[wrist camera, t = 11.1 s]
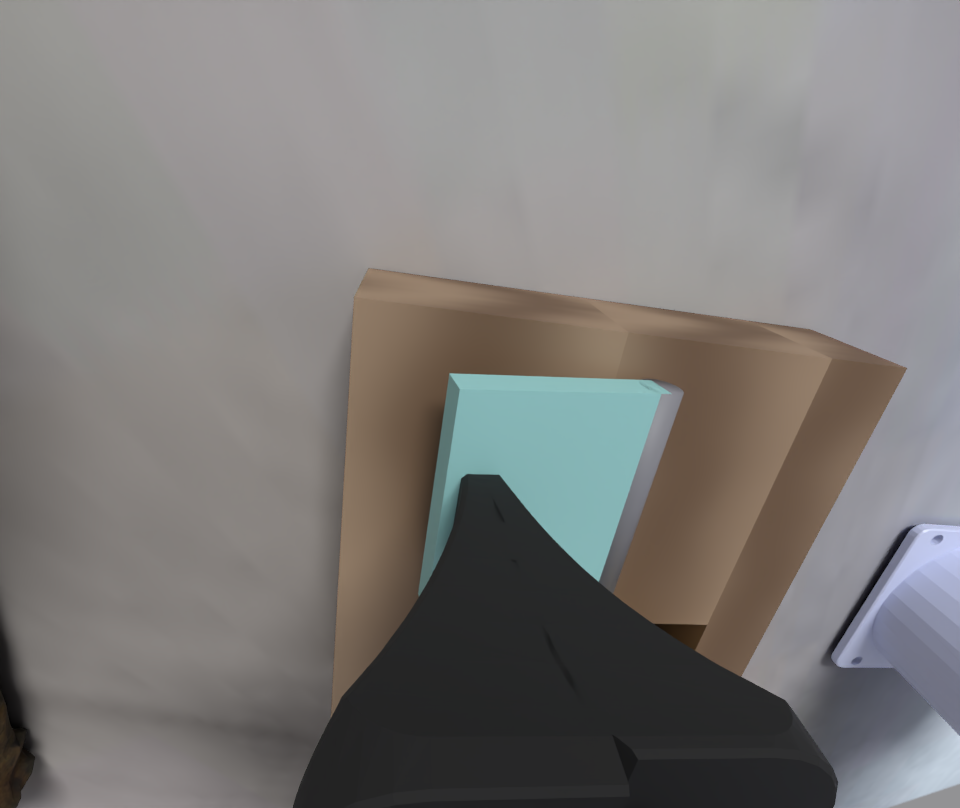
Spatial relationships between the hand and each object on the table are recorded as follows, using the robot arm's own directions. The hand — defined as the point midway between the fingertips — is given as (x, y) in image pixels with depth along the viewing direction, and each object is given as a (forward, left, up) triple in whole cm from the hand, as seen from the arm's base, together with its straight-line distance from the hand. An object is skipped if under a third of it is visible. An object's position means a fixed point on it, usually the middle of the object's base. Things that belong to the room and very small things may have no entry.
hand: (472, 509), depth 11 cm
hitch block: (-4, +4, -5) cm, 8 cm away
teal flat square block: (-2, 0, -1) cm, 2 cm away
